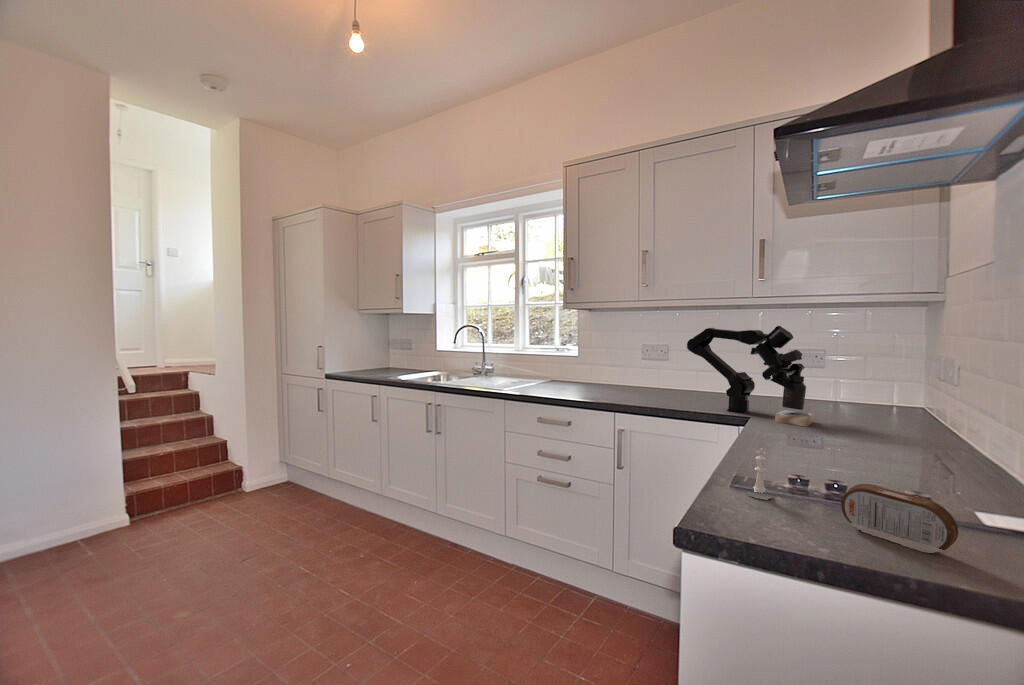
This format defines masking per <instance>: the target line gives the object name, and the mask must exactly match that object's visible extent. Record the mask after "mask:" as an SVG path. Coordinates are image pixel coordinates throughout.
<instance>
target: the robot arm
mask: <svg viewBox="0 0 1024 685" xmlns="http://www.w3.org/2000/svg"><path fill="white" fill-rule="evenodd" d="M714 338H715V339H722V340H732V341H738V342H740V343H741V344H742V343H743V344H746V345H747V346H750V345H751V346H753V345H756V347H750V348H751V350H750V355H755V356H756V355H758V356H759V357H760V358H761V360H763V365H764V366H768V368H766V369H765V370H764V371H762V374H761V375H762V376H761V377H763V379H764V380H765V381H770V382H772V383H775V384H778V385H780V386H781V387H783V388H784V387H785V388H787V389H789V390H791V391H794V390H795V388H794V386H793V385H792V383H791V382H790V380H789V379H788V377H789V375H796V376H802V375H801V374H802V371H803V370H804V369H805V366H804V365H803V364H802V363H798V362H796V361H801V360H802V359H803V358H802V357H803V352H801V351H800V350H798V349H794V350H791V351H789V352H786V353H780V352H778V351H777V349H782V348H784V346H786V345H787V344H788V343H790V342H791V341H792V340H793V339H794V335H793V334H792V333H791V332H790V331H788V330H787V329H785V328H784V327H782V326H781V325H777V326H775V327H774V329H772V331H770V332H769V333H764V332H763V331H762V330H760V329H747V330H730V329H722V328H721V329H720V328H715V327H707V328H705V329H704V330H703V331H701V332H700V333H698V334H697V335H695V336H693V337H692V338H690V339H689V340H687V343H686V348H687V351H689V352H691V353H692V354H694V355H695V356H698V357H700V358H703V359H704V360H705V361H706V362H707V363H708V364H709V365H710V366H711V367H712V368H714V369H715V370H716V371H718V372H719V373H720V374H721V376H723V378H725V379H726V380H727V382H728V385H729V388H728V389H726V391H725V393H726V396H727V397H728V408H727V409H726V412H733V413H739V412H740V414H745V413H747V412H749V411H750V400H749V397H750V396H751V394H752V392H753V391H754V390H755V386H756V385H755V384H756V382H755V381H754V379H753V377H751V376H749V374H747V373H746V372H745V371H742V372H737V371H736V370H735V369H734V368H733V367H731V365H729V364H728V363H727V362H726V361H724V360H723V358H721V357H720V356H718V354H716V353H715V352H714V351H713V350H712V348H711V346H710V344H711V343H712V341H713V339H714ZM793 362H794V363H793ZM795 362H796V363H795ZM771 377H772V378H771ZM804 383H805V382H803V384H804ZM804 385H805V384H804Z"/></svg>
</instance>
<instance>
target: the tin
mask: <svg viewBox="0 0 1024 685" xmlns="http://www.w3.org/2000/svg"><path fill="white" fill-rule="evenodd" d="M840 505H841V506H840V508H841V512H842V514H843V517H844V519H845V520H847V521H846V522H848V523H849V522H850V523H853V524H858V525H861V526H865V527H868V528H871V529H874V530H878V531H882V532H884V533H888V534H891V535H893V536H896V537H899V538H902V539H906V540H910V541H914V542H917V543H922V544H926V545H930V546H933V547H936V548H939V549H942V550H944V551H946V550H947V549H949V548H950V547H951V546H952V545H954V543H955V542H957V539H958V536H959V528H958V524H957V522H956V520H955V518H954V517H953V515H952V514H951V513H950V512H949V511H948V510H947V509H946V508H945V507H943V506H942V505H941V504H939V503H937V502H935V501H934V500H930V499H927V498H924V497H919V496H916V495H913V494H909V493H905V492H901V491H898V490H897V491H896V490H894V489H890V488H886V487H882V486H878V485H876V484H871V483H870V484H869V483H861V484H860V483H859V484H856V485H853V486H852V487H850V488H849V489H848V490H847V491H846V492H845V493H844V494H843V496H842V498H841V502H840ZM850 523H849V524H850Z"/></svg>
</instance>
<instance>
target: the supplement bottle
mask: <svg viewBox="0 0 1024 685" xmlns="http://www.w3.org/2000/svg"><path fill="white" fill-rule="evenodd" d="M788 379H789V380H790V382H791V383H792V385H793V386H794V388H795V390H794V391H791V390H789V389H787V388H785V387H783V393H782V400H781V407H782V408H785V409H793V410H800V411H803V410H804V408H805V400H806V392H807V386H806V384H803V383H805V376H802V375H801V376H796V375H789V377H788Z"/></svg>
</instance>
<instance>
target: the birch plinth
mask: <svg viewBox="0 0 1024 685" xmlns="http://www.w3.org/2000/svg"><path fill="white" fill-rule="evenodd" d="M814 416H815V414H814V413H809V412H802V411H795V410H787V409H782V410H780V411H778V412H776V413H775V414H774V423H781V424H787V425H793V426H800V427H808V426H810V425H812V424H813V423H814V419H815V418H814Z"/></svg>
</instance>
